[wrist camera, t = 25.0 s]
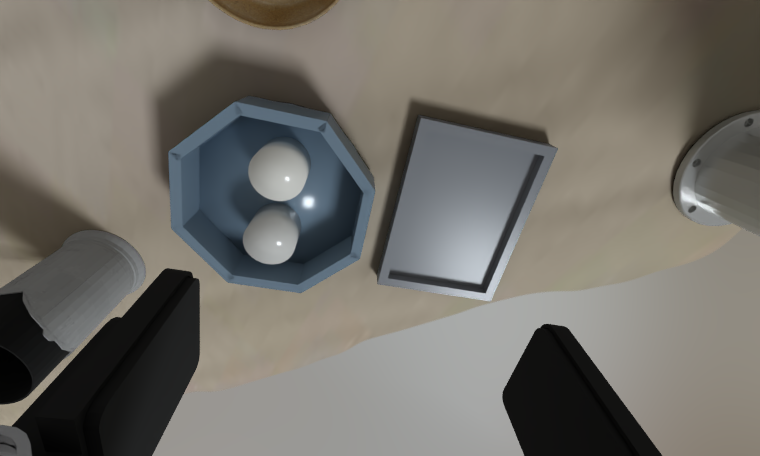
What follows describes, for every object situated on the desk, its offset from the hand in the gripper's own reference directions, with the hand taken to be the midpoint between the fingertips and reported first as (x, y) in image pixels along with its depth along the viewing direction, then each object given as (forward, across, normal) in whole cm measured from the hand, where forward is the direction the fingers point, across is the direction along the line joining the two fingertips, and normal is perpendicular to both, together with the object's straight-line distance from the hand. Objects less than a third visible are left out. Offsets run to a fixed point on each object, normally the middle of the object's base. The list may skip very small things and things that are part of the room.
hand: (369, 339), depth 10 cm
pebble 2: (+28, +7, +12) cm, 31 cm away
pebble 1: (+28, +7, +4) cm, 29 cm away
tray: (+28, -12, +7) cm, 32 cm away
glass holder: (+28, +28, +22) cm, 46 cm away
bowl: (+28, +7, +8) cm, 30 cm away
